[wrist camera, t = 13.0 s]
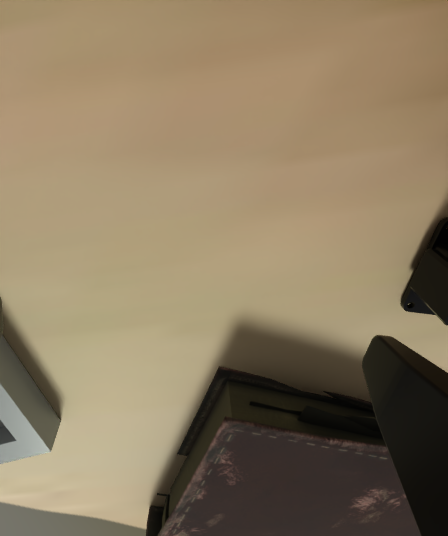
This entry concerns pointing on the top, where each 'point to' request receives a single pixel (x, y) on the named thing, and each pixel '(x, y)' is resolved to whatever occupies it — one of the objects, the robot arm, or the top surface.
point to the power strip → (22, 411)
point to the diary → (282, 467)
